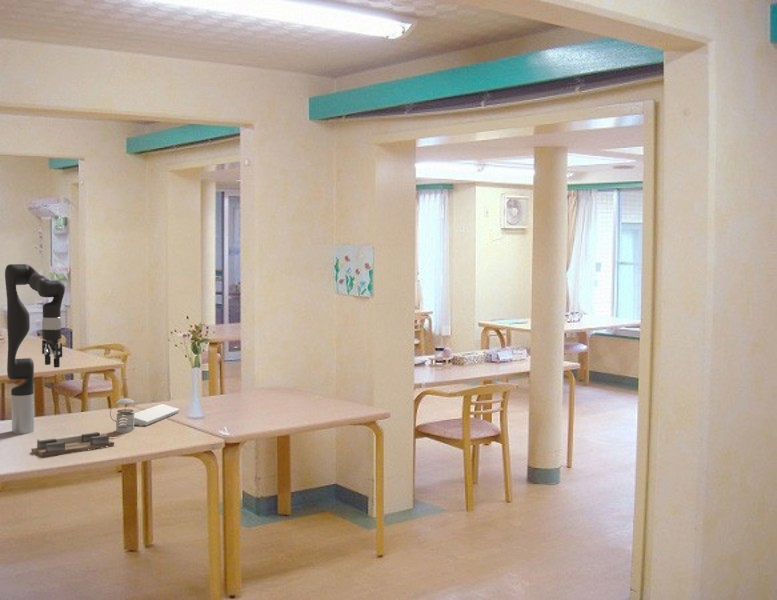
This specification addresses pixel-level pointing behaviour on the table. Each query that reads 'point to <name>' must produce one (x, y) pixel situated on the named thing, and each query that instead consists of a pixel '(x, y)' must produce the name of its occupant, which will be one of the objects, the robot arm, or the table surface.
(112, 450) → the table surface
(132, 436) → the table surface
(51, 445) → the dark brown long fixture
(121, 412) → the french press
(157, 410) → the decorative molding
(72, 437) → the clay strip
